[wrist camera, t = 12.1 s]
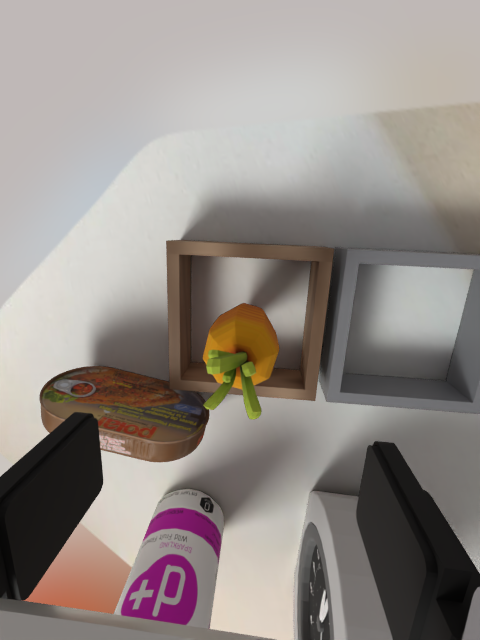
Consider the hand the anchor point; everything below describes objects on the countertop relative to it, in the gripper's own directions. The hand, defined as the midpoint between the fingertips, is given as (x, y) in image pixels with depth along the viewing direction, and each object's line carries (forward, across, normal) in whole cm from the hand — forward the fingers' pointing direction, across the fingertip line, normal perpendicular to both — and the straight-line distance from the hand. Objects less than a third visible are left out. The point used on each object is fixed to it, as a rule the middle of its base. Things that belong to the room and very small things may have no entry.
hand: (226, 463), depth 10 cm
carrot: (+20, +1, 0) cm, 20 cm away
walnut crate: (+20, +1, 0) cm, 20 cm away
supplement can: (+20, +6, +24) cm, 32 cm away
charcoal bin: (+20, -13, 0) cm, 24 cm away
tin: (+20, +11, +8) cm, 24 cm away
